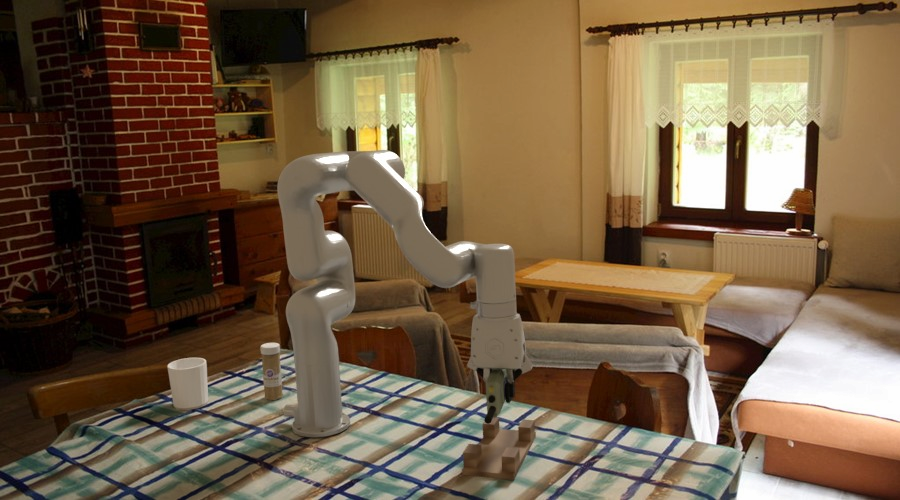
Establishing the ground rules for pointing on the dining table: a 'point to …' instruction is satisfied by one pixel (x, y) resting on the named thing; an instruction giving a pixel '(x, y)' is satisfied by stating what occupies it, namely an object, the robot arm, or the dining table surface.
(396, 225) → the robot arm
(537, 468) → the dining table surface
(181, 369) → the mug
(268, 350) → the sprinkles bottle
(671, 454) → the dining table surface
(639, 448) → the dining table surface
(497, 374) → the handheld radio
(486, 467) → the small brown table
